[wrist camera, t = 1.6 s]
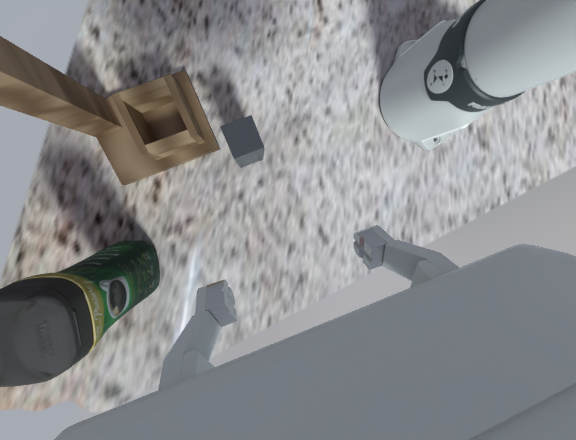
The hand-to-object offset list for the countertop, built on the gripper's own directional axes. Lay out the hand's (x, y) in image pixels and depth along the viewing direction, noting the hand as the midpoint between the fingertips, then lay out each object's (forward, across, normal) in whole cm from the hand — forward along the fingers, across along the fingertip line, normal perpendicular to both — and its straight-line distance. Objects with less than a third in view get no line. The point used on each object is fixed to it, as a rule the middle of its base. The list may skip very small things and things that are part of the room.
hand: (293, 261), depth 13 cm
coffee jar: (+23, +24, +14) cm, 35 cm away
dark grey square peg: (+28, 0, +2) cm, 28 cm away
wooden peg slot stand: (+31, +12, -5) cm, 34 cm away
